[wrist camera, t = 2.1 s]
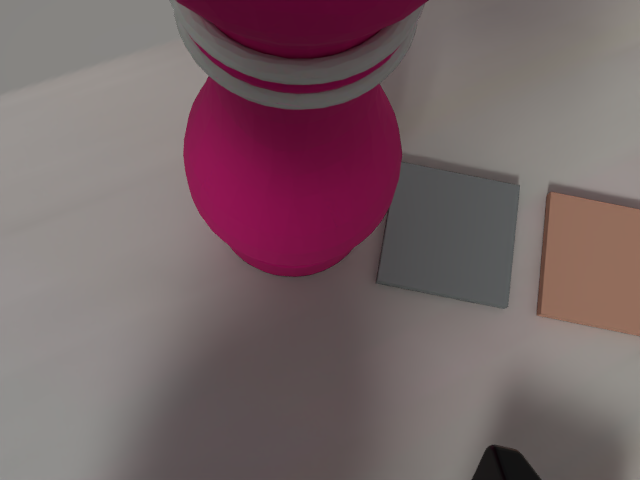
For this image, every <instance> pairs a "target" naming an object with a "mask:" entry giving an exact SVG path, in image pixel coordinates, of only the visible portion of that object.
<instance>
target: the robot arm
mask: <svg viewBox="0 0 640 480" xmlns="http://www.w3.org/2000/svg"><path fill="white" fill-rule="evenodd" d="M472 480H541V478H540V477H539V476H538V475H537V473H536V472H535V471H534V469H533V468H532V467H531V465H530V464H529V463H528V462H527V460H526V459H525V458H524V456H523V455H522V454H521V453H520V452H519V451H518V450H515V449H512V448H507V447H503V446H498V445H490V446H489V447H487V449H486V450H485V452H484V454H483V456H482V459H481V461H480V463H479V465H478V467H477V470H476V472H475V474H474V476H473V478H472Z"/></svg>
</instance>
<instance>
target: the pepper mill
mask: <svg viewBox="0 0 640 480" xmlns="http://www.w3.org/2000/svg"><path fill="white" fill-rule="evenodd" d="M427 1H428V0H170V3H171V4H172V7H173V9H174V15H175V20H176V23H177V27H178V31H179V33H180V36H181V38H182V40H183V42H184V44H185V46H186V48H187V49H188V51H189V52H190V54H191V56H192V57H193V59H194V60H195V62H196V63H197V64H198V65H199V66H200V67H201V68H202V69H203V70H204V71H205V72H206V73H207V74H208V75H209V77H208V79H207V81H206V83H205V84H204V86H203V87H202V88H201V90H200V92H199V94H198V95H197V97H196V99H195V101H194V103H193V105H192V108H191V111H190V114H189V118H188V123H187V128H186V133H185V138H184V153H183V156H184V164H185V172H186V176H187V181H188V185H189V189H190V192H191V196H192V199H193V201H194V203H195V205H196V207H197V209H198V211H199V213H200V215H201V216H202V217H203V219H204V220H205V222H206V223H207V224H208V226H209V227H210V228H211V230H212V231H213V232H214V233H215V234H217V235H218V236H219V237H220V238H221V239H222V240H223V241H224V242H226V243H227V244H228V245H229V246H230V247H231V248H232V250H233V251H234V252H235V253H236V254H237V255H238V256H239V257H240V258H242V259H243V260H244V261H245V262H247V263H248V264H250V265H252V266H254V267H256V268H258V269H260V270H262V271H264V272H267V273H270V274H274V275H280V276H292V277H297V276H306V275H311V274H315V273H318V272H321V271H324V270H326V269H328V268H330V267H332V266H333V265H335V264H336V263H338V262H339V261H341V260H342V259H343V258H344V257H345V256H347V255H348V254H349V252H350V251H351V250H352V249H353V248H354V247H355V246H357V245H358V244H360V243H361V242H362V241H363V240H364V239H365V238H366V237H368V236H369V235H370V234H371V233H372V232H373V231H374V229H375V228H376V227H377V226H378V225H379V223H380V222H381V221H382V219H383V218H384V216H385V214H386V212H387V211H388V209H389V207H390V205H391V203H392V200H393V197H394V193H395V190H396V187H397V184H398V180H399V176H400V168H401V160H402V149H401V141H400V134H399V128H398V124H397V120H396V116H395V113H394V111H393V109H392V107H391V104H390V102H389V100H388V98H387V96H386V94H385V93H384V91H383V89H382V87H381V86H380V82H382V81H383V80H384V79H385V78H386V77H387V76H388V75H389V74H390V73H391V72H392V71H393V70H394V69H395V68H396V67H397V66H398V65H399V63H400V62H401V60H402V59H403V57H404V55H405V54H406V52H407V51H408V49H409V48H410V45H411V43H412V40H413V37H414V35H415V31H416V26H417V21H418V19H419V18H420V15H421V13H422V10H423V7H424V4H425V3H426V2H427Z"/></svg>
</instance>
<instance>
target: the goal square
mask: <svg viewBox="0 0 640 480" xmlns="http://www.w3.org/2000/svg"><path fill="white" fill-rule="evenodd" d="M537 315H538V316H543V317H548V318H553V319H558V320H563V321H568V322H573V323H577V324H582V325H587V326H592V327H597V328H602V329H607V330H612V331H617V332H622V333H627V334H632V335H637V336H640V209H635V208H630V207H625V206H620V205H615V204H610V203H605V202H600V201H595V200H590V199H585V198H580V197H575V196H570V195H565V194H560V193H555V192H550V193H549V194H548V195H547V200H546V212H545V224H544V236H543V248H542V259H541V271H540V283H539V295H538V307H537Z"/></svg>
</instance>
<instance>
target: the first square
mask: <svg viewBox="0 0 640 480" xmlns="http://www.w3.org/2000/svg"><path fill="white" fill-rule="evenodd" d="M519 190H520V185H515V184H510V183H505V182H500V181H495V180H490V179H485V178H480V177H475V176H470V175H465V174H460V173H455V172H450V171H445V170H440V169H435V168H430V167H425V166H420V165H415V164H410V163H405V162H401V168H400V176H399V180H398V184H397V187H396V190H395V193H394V197H393V200H392V203H391V205H390V207H389V209H388V214H387V220H386V226H385V232H384V238H383V244H382V250H381V256H380V262H379V267H378V273H377V279H376V283H378V284H383V285H388V286H393V287H398V288H403V289H408V290H413V291H418V292H423V293H428V294H433V295H438V296H443V297H448V298H453V299H458V300H463V301H468V302H473V303H478V304H483V305H488V306H493V307H498V308H503V309H505V308H507V307H508V301H509V291H510V281H511V271H512V261H513V251H514V241H515V230H516V220H517V210H518V200H519Z"/></svg>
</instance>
